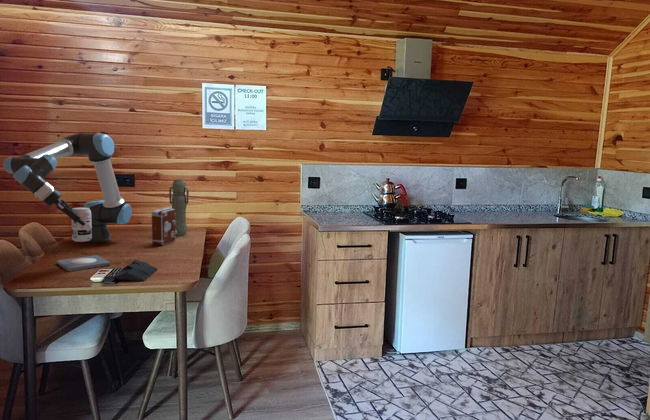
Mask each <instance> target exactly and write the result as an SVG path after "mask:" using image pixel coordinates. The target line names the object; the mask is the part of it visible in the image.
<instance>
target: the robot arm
mask: <svg viewBox="0 0 650 420" xmlns="http://www.w3.org/2000/svg"><path fill="white" fill-rule="evenodd" d="M114 152H115V143H114V140H113V139H112V137H111V136H109V135H108V134H105V133H101V132H99V133H90V132H89V133H88V132H87V133H83V132H80V133H75V134H74V133H73V134H70V135H68V136H65V137H61V138H60V139H57V141H56V142H54V143H52V144H49V145H46V146H44V147H42V148H38V149H36V150H33V151H31V152H28V153H25V154H21V155H19V156H9V157H6V158H5V159H4V160H3V164H2V165H3V168H4V171H5V172H6V173H8V174H13V175H12V176H13V179H14V180H16V181H17V182H18V183H19V184H20V185H21V186H23V187H24V188H25V189H26V190H28V191H29V192H31V194H33V195H34V197H35V198H38V199H39V200H40V201H41V200H42V202H43V203H44V204H46V205H47V207H48V206H49V207H51V206H52V205H55V206H56V207H55V208H56V209H58V210H60V211H61V212H62V213H64V214H65V215H66V216H67V217H68V218H70V219H72V220H74V223H78V224H79V225H80V226H81V227H83V228H84V229H85V230H86V231H89V230H90V229H91V228H92V239H91V240H89V241H84V242H83V243H90V244H91V243H92V244H95V243H104V242H108V241H110V240H111V239H112V238H111V237H112V236H111V234H110V231H109V229H108V228H109V227H108V224H115V225H125V224H126V225H127V223H129V221H130V220H131V218H132V214H133V208H132V206H131V205H130V204H129V203H126V201H125V198H123V197H121V193H120V189H119V185H118V183H117V179H116V175H115V172H114V168H113V165H112V161H111V159H112V158H113V154H114ZM71 156H87V158H88V161H89V162H90V163H92V164H93V167H94V171H95V173H96V177H97V179H98V180H97V181H98V182H99V183H98V184H99V186H100V189H101V193H102V196H103V200H101V199H100V200H92V201H87V202H85V203H84V205H83V207H86V208H89V209H90V211H91V225H92V226H90V225H89V224H88V223H87V222H85V221H84V220H83V219H82V218H80V217H79V216H77V215H76V214H75V213H74V212H73V211H72V209H73V208H72V207H71V206H70V205H69V203H67V202H66V201H65V200H63V199H60V198H61V197H62V195H63V194H62V193H61V192H60V191H59V190H58V189H55V187H54V186H53V185H52V184H51V183H49V182H48V181H46V179H45V178H46V177H47V176H48V175H50V174H51V173H52V172H53V171H54V169H56V168H57V166H58V161H57V160H58V159H61V158H63V157H71Z"/></svg>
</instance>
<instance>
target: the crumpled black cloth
mask: <svg viewBox="0 0 650 420" xmlns="http://www.w3.org/2000/svg"><path fill="white" fill-rule="evenodd" d="M158 270H159V269H158V268H157V267H155V266H153V265H150V264H149V263H148V262H145V261H142V260H141V261H140V260H138V259H133V261H131V263H128V264H127V265H126V266H124V267H122V268H121V270H120V271H121V272H120V271H119V272H117V273H118V274H117V273H116V274H115V275H114V279H115V278H116V279H118V281H129V282H130V281H131V282H146V281H147V280H148V279H149V278H151V276H153V275H154V274H155V273H156V271H158ZM116 279H115V280H116Z"/></svg>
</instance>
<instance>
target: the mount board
mask: <svg viewBox="0 0 650 420" xmlns="http://www.w3.org/2000/svg"><path fill="white" fill-rule="evenodd" d="M56 263H57V265H59V266H60V267H62V269H64V270H66V271H67V272H68V271H70V272H75V271H81V270H87V269H88V268H90V269H95V268H94V267H97V268H101V267H100V266H103V267H108V266H107V265H110V266H111V262H110V261H108V260H107V259H105V258H103V257H101V256H100V255H98V254H96V255H88V256H80V257H75V258H73V257H72V258H66V259H58V260H56ZM88 270H89V269H88Z"/></svg>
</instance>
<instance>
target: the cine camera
mask: <svg viewBox="0 0 650 420" xmlns="http://www.w3.org/2000/svg"><path fill="white" fill-rule="evenodd" d="M175 222H176V221H175V210H174V209H172V207H166V208H159V209H154V210H153V211H152V212H151V243H152V245H156V246H166V245H168V244H171V243H173V242H175V241H176V237H177V236H176V233H177V231H176V230H175Z"/></svg>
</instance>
